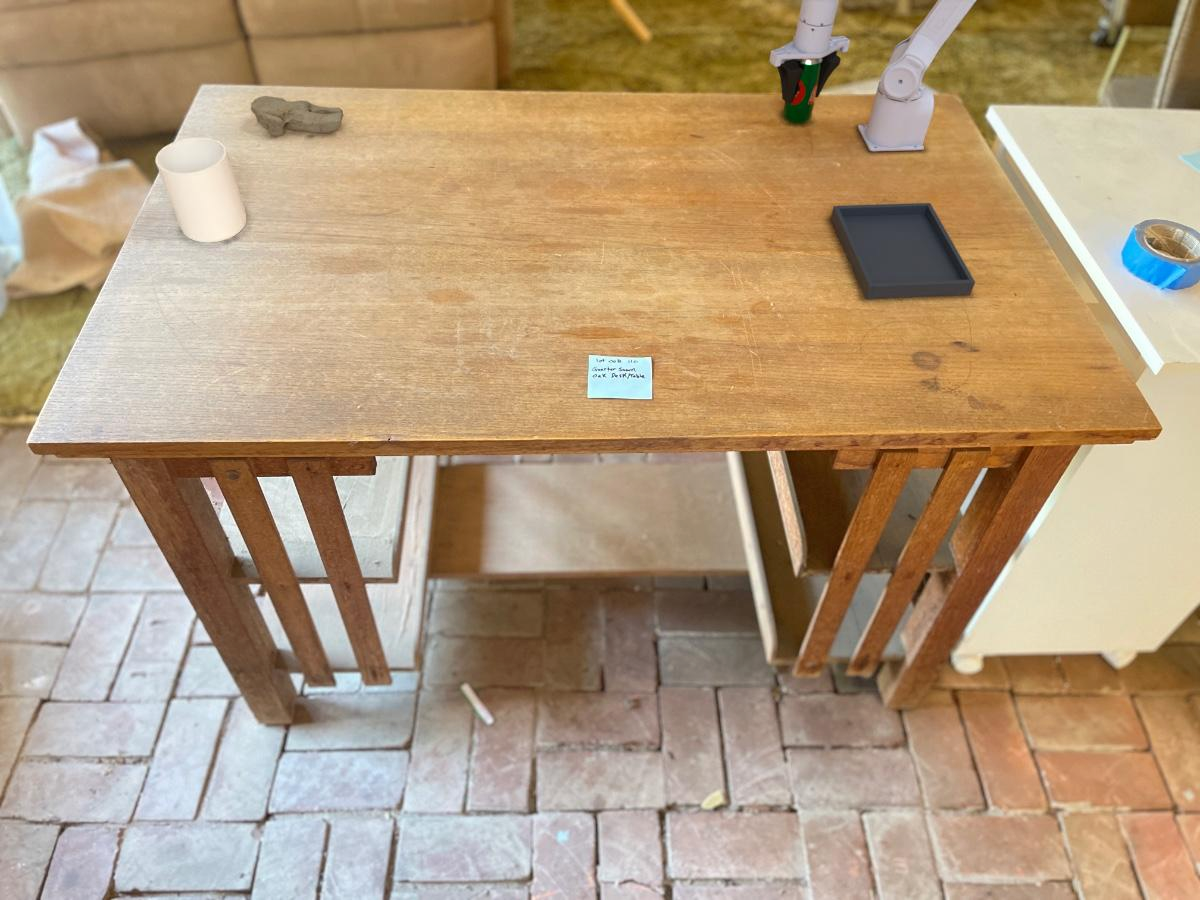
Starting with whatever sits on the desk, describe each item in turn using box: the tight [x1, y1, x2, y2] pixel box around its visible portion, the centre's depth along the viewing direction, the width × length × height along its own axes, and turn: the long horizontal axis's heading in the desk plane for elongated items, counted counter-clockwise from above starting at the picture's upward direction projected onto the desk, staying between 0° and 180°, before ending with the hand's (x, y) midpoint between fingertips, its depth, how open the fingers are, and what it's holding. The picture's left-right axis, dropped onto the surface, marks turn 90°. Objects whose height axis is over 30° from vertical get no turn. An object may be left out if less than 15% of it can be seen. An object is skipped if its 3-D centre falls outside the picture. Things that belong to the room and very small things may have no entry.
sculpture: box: [250, 95, 344, 137], centre depth 154 cm, size 7×5×15 cm
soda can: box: [782, 57, 823, 125], centre depth 157 cm, size 5×5×12 cm
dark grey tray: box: [830, 202, 976, 300], centre depth 136 cm, size 15×19×2 cm
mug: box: [154, 136, 247, 244], centre depth 133 cm, size 10×12×12 cm
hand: (800, 97), depth 159 cm, fingers closed on soda can, 5 cm apart
